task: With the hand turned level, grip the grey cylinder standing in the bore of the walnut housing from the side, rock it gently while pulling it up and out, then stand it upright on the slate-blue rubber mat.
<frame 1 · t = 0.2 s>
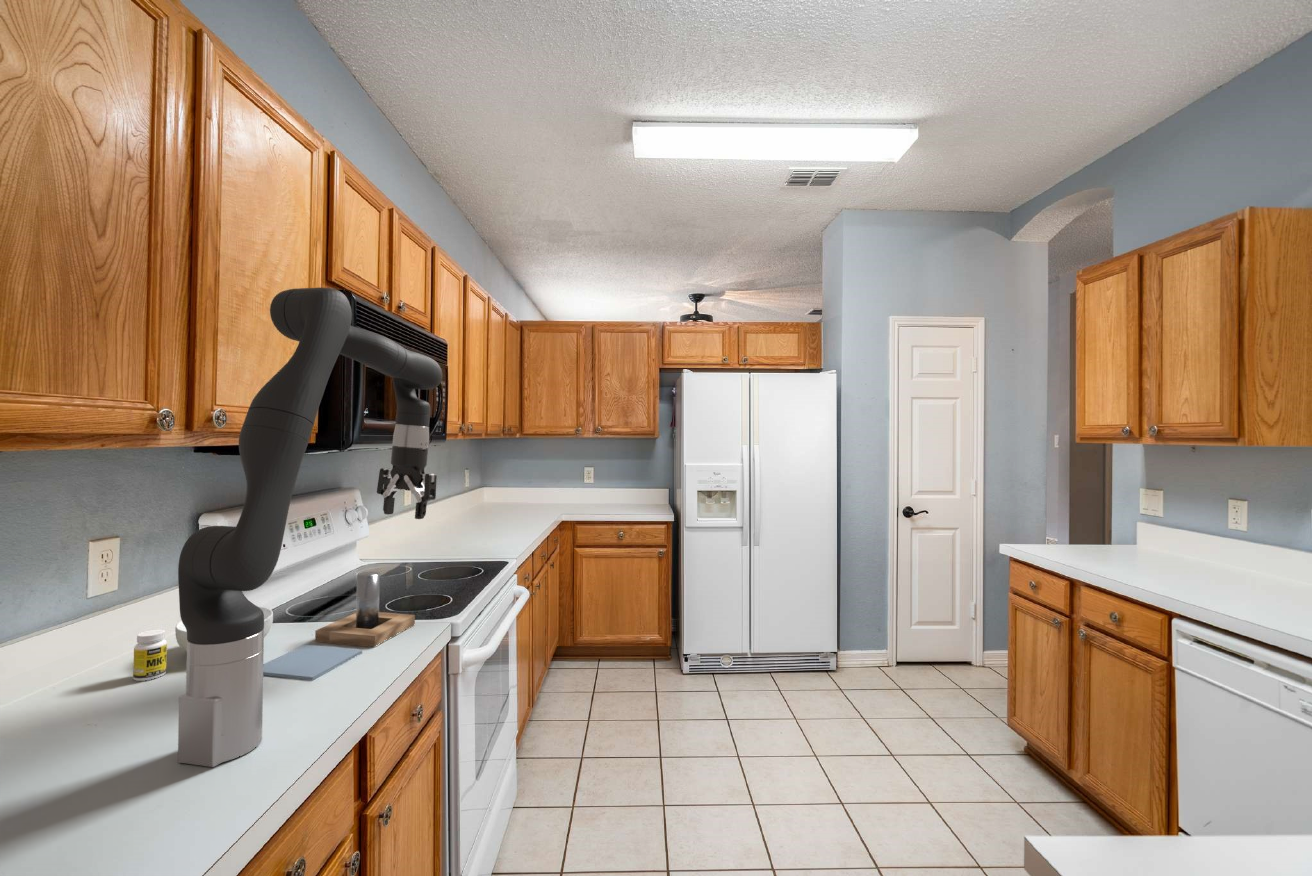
hand: (403, 516, 129), 29 cm above the worktop, tool pointing down, fingers open, 8 cm apart
supplement bottle: (150, 677, 109), on the worktop
mat: (308, 662, 117), on the worktop
cereal bowl: (225, 651, 122), on the worktop
housing: (367, 633, 134), on the worktop
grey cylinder: (367, 603, 134), in the housing
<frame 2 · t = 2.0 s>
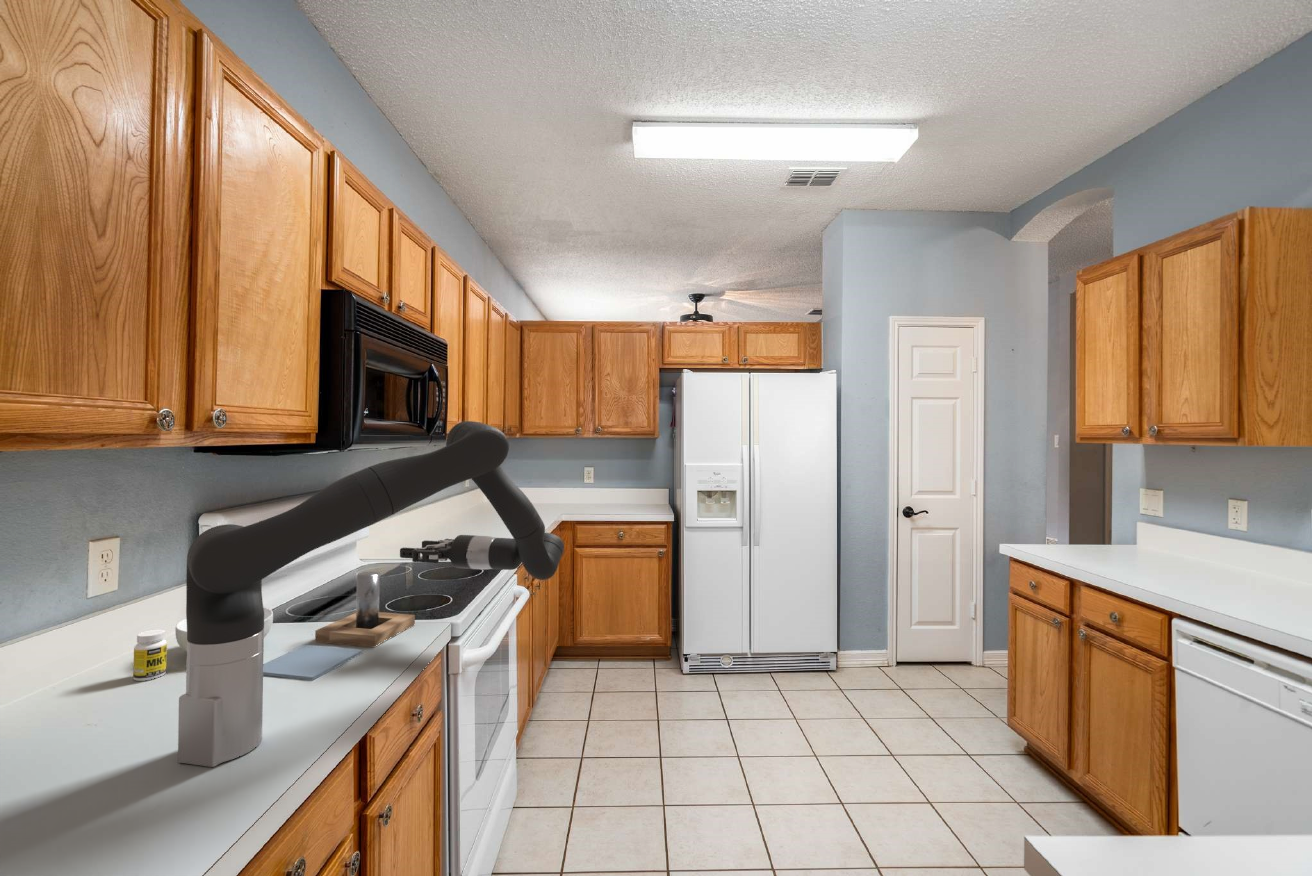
hand: (412, 548, 132), 21 cm above the worktop, tool horizontal, fingers open, 8 cm apart
nothing on the worktop moved.
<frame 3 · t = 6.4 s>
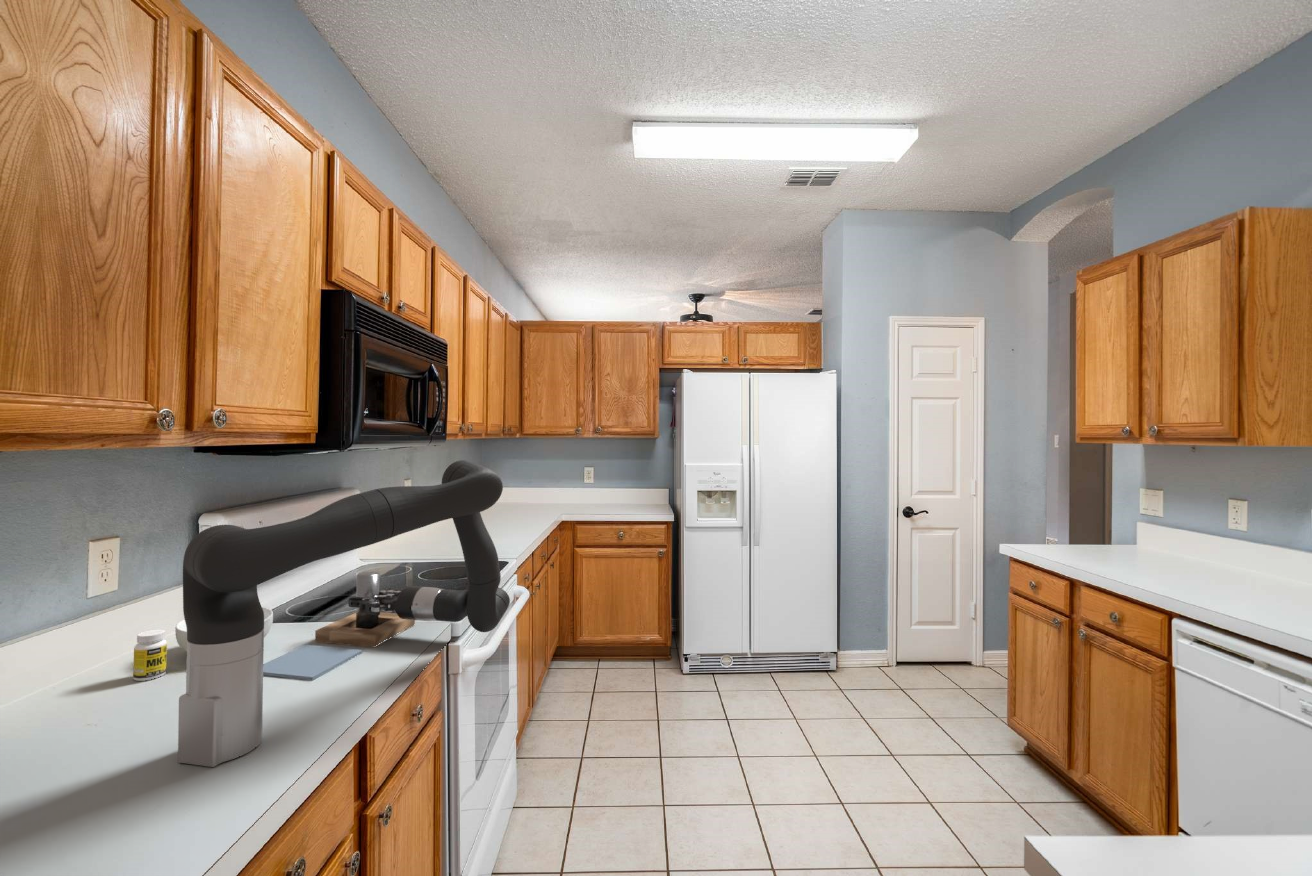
hand: (357, 598, 135), 8 cm above the worktop, tool horizontal, fingers closed on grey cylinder, 4 cm apart
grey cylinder: (367, 603, 134), in the housing, touching gripper
everything else where it was.
when the fingers open (9 cm above the worktop, at t = 16.1 s): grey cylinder stays where it is, resting on mat.
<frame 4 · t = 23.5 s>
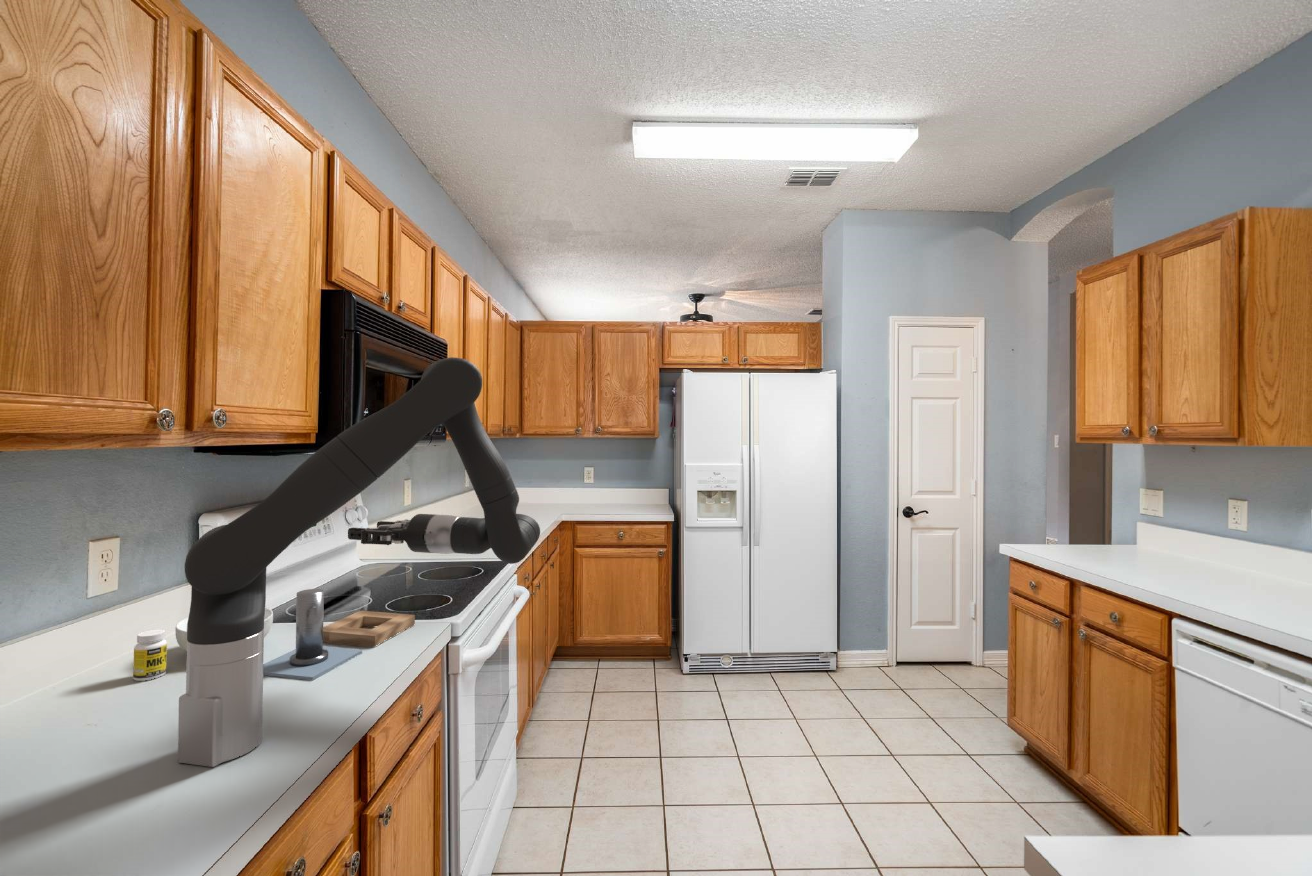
hand: (363, 529, 114), 28 cm above the worktop, tool horizontal, fingers open, 8 cm apart
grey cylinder: (309, 625, 117), on the mat, point 8 cm above the worktop
everything else where it was.
at the end: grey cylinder inside the target area on the mat (0.1 cm from its centre), point 7.6 cm above the mat's base; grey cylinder tilted 0°; the gripper is holding nothing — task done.
